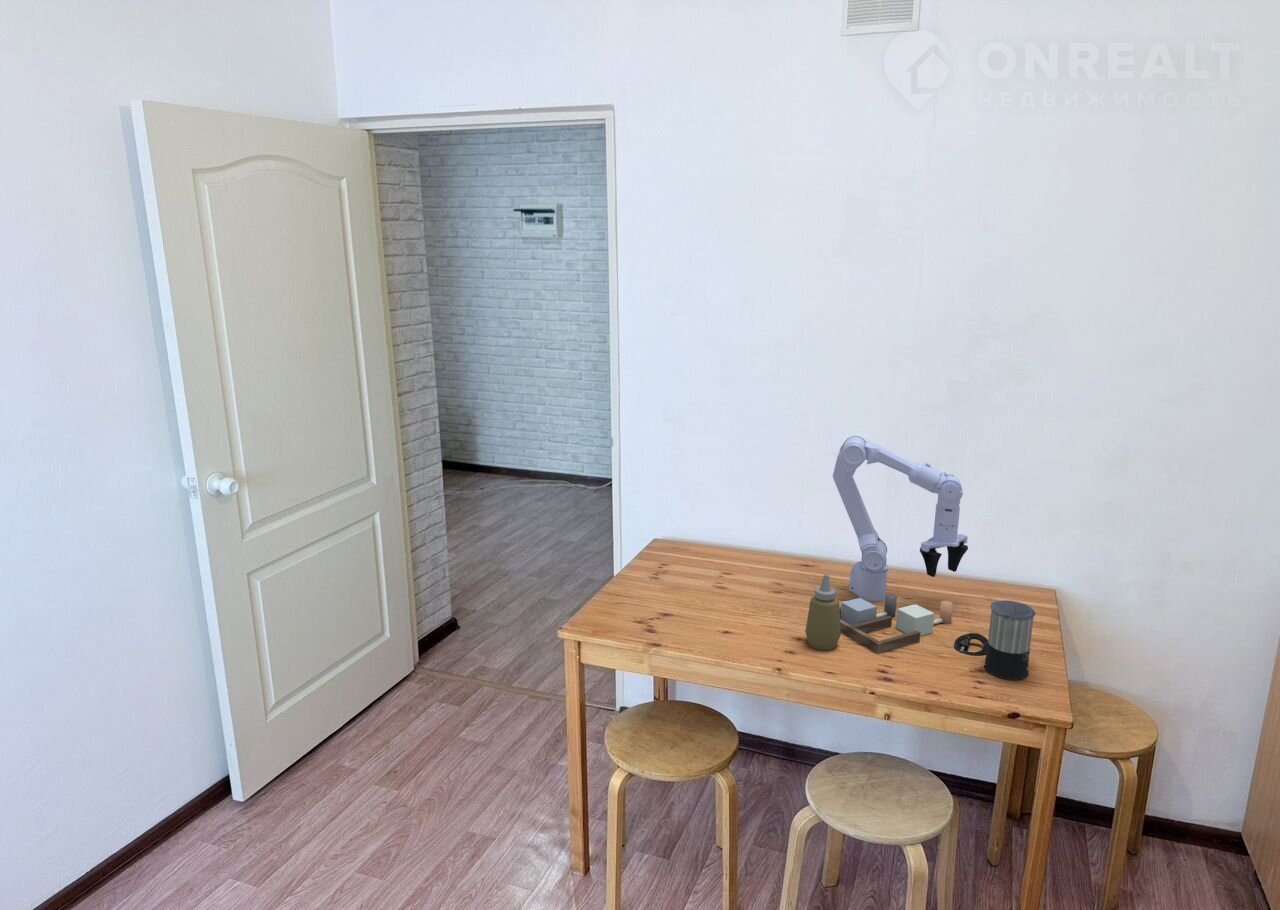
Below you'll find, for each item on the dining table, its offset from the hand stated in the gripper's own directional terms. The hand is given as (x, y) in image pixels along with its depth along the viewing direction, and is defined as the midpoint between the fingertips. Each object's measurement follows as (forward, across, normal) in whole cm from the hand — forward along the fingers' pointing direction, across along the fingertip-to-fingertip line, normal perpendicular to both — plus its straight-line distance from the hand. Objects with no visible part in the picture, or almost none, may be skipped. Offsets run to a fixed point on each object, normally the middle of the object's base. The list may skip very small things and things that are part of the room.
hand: (941, 572), depth 212 cm
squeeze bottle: (+10, -42, -4) cm, 43 cm away
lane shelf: (+9, -20, -4) cm, 22 cm away
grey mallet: (+9, -23, +1) cm, 24 cm away
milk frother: (+10, -13, -27) cm, 32 cm away
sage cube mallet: (+8, -13, -9) cm, 18 cm away
